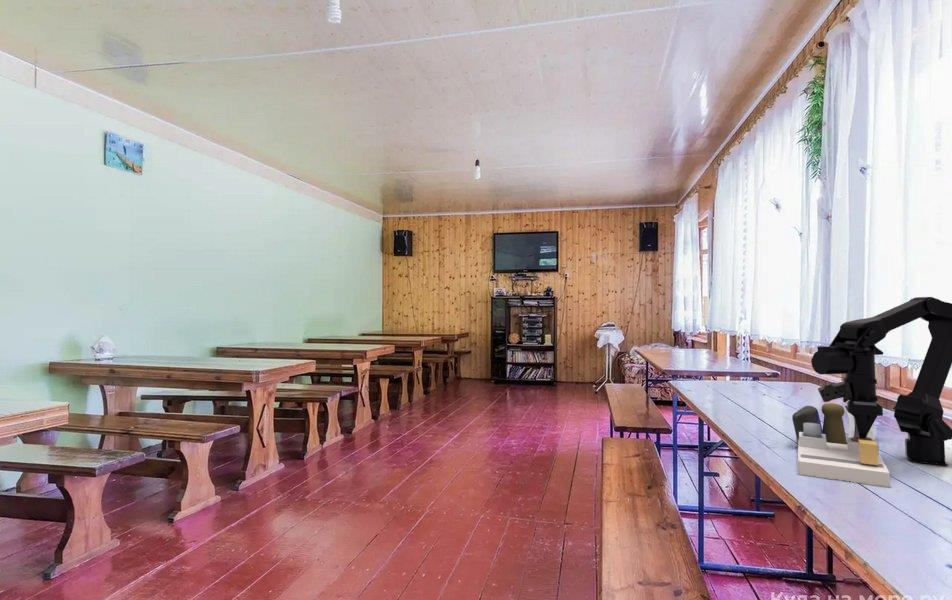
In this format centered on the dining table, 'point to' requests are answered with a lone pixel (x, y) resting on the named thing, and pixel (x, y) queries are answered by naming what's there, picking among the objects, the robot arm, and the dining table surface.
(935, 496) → the dining table surface
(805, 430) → the grey button
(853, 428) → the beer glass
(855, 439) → the walnut button
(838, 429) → the olive knobbed pillar
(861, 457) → the tan wooden brick
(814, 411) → the leaning round-cornered charcoal block
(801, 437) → the control panel
